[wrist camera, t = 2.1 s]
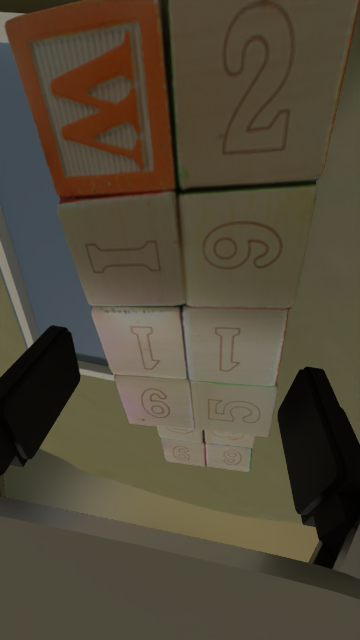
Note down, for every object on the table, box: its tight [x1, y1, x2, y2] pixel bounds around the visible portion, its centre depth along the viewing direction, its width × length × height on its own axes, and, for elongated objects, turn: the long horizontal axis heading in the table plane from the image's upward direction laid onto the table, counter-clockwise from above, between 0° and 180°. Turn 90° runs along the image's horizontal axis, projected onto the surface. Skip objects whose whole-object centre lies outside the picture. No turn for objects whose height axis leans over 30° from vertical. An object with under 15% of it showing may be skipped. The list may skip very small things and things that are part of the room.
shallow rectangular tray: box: [0, 12, 115, 381], centre depth 20 cm, size 12×25×2 cm, turn 175°
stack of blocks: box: [4, 0, 360, 472], centre depth 15 cm, size 21×6×12 cm, turn 5°
